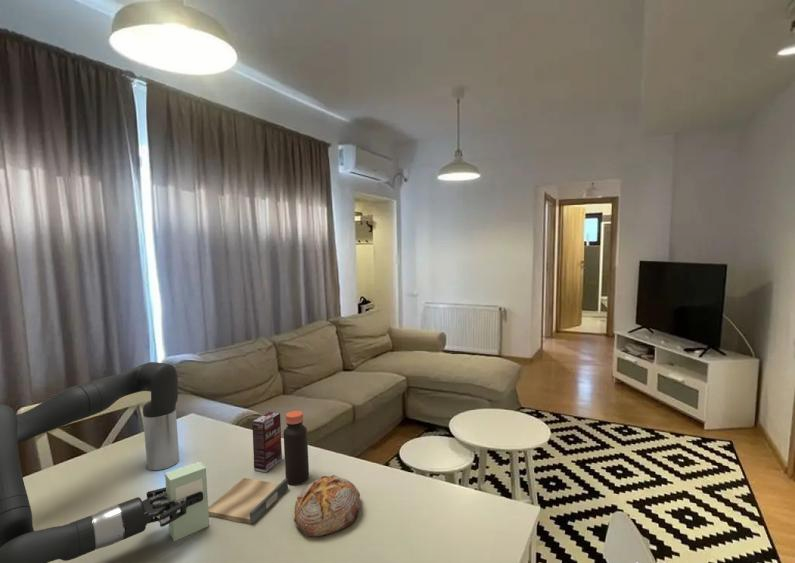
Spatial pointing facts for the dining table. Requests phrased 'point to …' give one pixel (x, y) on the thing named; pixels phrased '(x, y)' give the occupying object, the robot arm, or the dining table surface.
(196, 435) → the dining table surface
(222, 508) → the tan flat piece
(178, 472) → the carton
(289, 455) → the bottle
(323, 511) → the bread
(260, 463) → the supplement box
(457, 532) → the dining table surface
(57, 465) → the dining table surface
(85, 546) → the robot arm
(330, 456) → the dining table surface
